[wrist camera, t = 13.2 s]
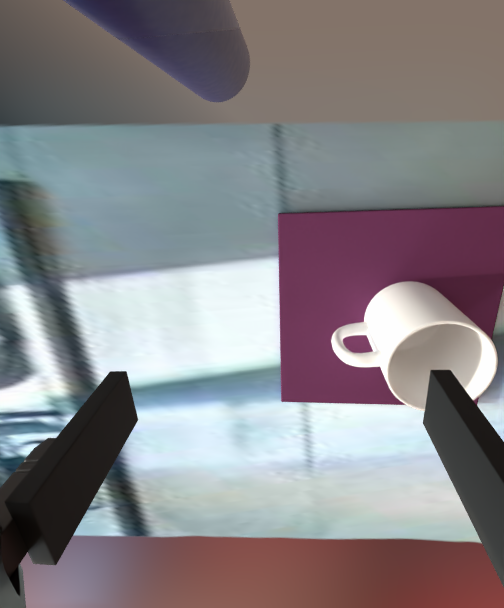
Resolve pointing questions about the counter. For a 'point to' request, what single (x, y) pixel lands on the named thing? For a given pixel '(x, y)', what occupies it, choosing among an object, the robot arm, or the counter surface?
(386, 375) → the cup
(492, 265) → the mat
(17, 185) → the counter surface
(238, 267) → the counter surface
